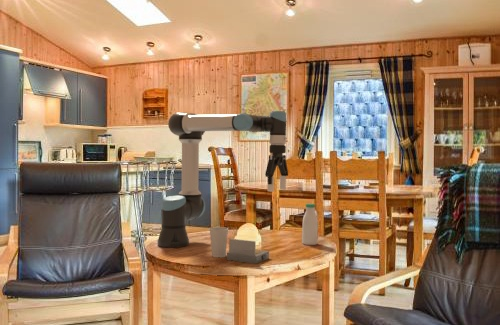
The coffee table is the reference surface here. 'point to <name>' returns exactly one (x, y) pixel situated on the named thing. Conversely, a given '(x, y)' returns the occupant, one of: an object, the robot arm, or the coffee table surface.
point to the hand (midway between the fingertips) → (276, 190)
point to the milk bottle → (310, 226)
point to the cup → (218, 241)
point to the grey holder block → (245, 252)
